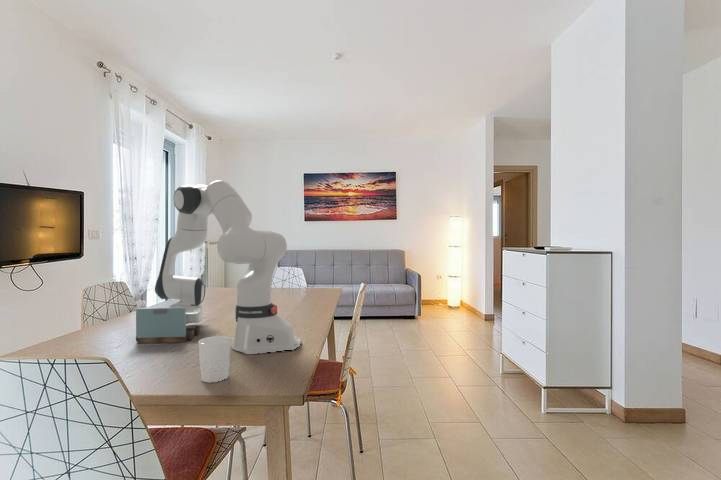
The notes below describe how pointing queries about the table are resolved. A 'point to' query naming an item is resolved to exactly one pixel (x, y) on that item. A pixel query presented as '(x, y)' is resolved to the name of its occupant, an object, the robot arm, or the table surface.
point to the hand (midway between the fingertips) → (164, 321)
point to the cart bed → (189, 334)
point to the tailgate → (160, 322)
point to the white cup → (214, 358)
